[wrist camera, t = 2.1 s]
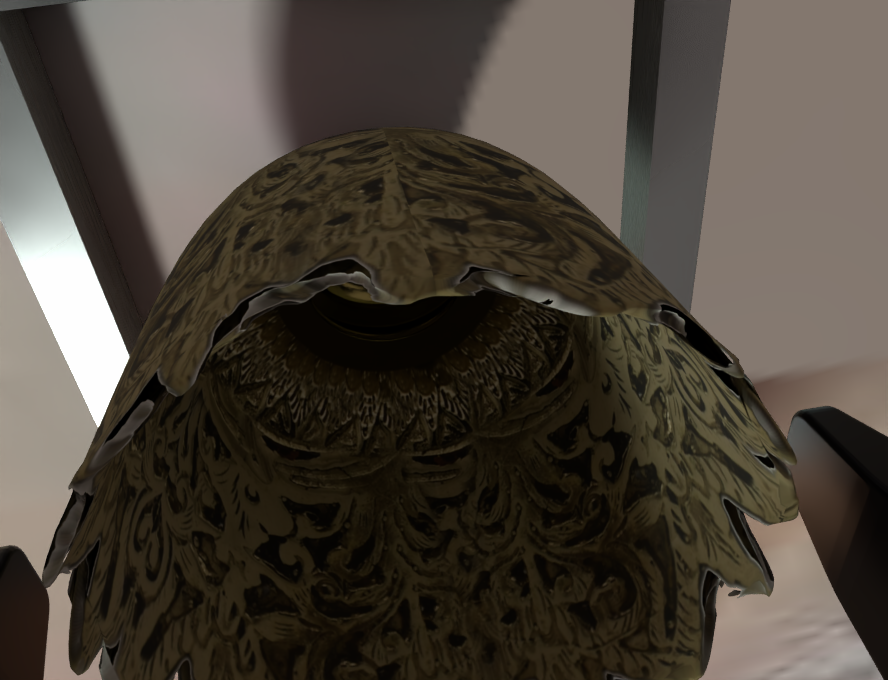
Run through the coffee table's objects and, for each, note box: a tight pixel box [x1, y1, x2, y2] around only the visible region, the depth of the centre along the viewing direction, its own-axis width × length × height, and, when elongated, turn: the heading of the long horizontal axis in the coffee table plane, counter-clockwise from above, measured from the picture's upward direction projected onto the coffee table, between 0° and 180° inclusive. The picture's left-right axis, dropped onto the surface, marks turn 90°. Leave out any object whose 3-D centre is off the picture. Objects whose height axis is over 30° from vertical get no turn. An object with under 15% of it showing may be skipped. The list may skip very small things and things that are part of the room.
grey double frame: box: [0, 0, 731, 680], centre depth 17 cm, size 22×11×1 cm, turn 5°
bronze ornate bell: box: [42, 127, 799, 680], centre depth 11 cm, size 8×7×8 cm
